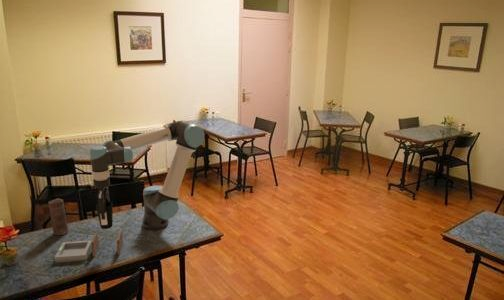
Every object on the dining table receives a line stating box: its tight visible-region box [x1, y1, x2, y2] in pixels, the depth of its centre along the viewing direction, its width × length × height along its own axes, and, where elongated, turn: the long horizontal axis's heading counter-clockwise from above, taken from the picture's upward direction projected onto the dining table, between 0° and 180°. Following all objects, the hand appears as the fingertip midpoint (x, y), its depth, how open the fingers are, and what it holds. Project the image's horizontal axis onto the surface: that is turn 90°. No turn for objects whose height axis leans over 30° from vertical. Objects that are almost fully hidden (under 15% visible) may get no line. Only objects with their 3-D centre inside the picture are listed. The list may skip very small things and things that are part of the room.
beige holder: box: [91, 230, 124, 257], centre depth 191 cm, size 13×10×8 cm
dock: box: [54, 240, 92, 264], centre depth 187 cm, size 14×14×3 cm
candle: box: [48, 198, 69, 236], centre depth 204 cm, size 8×7×20 cm
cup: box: [95, 201, 114, 230], centre depth 186 cm, size 8×8×12 cm
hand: (106, 220), depth 187 cm, fingers closed on cup, 8 cm apart
